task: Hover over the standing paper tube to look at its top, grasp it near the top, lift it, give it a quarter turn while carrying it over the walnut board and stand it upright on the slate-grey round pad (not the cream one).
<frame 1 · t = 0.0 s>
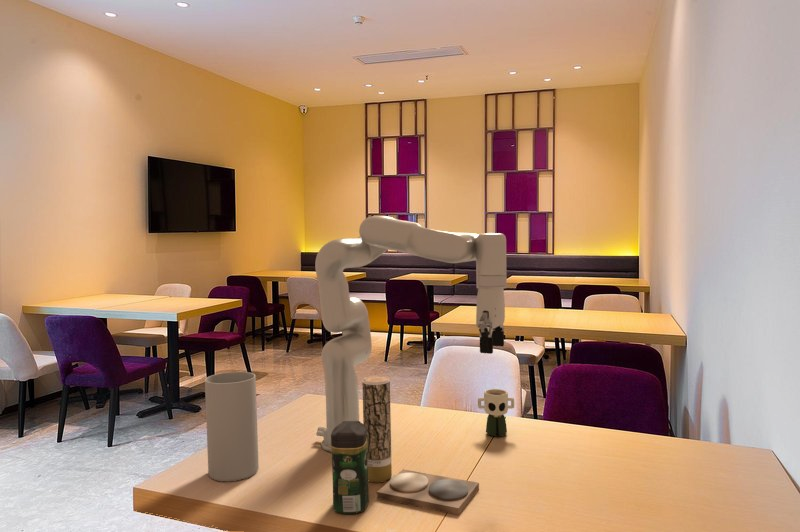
hand: (492, 349, 146), 31 cm above the table, tool pointing down, fingers open, 9 cm apart
board: (428, 493, 135), on the table
cylinder vase: (233, 473, 150), on the table
character mug: (496, 435, 174), on the table
coffee jar: (350, 506, 130), on the table
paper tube: (378, 478, 145), on the table
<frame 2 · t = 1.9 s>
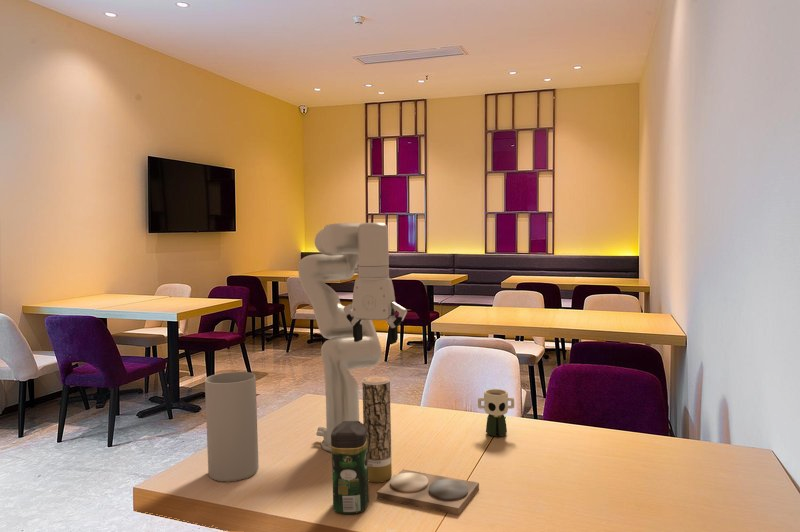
hand: (375, 342, 143), 34 cm above the table, tool pointing down, fingers open, 9 cm apart
nothing on the table moved.
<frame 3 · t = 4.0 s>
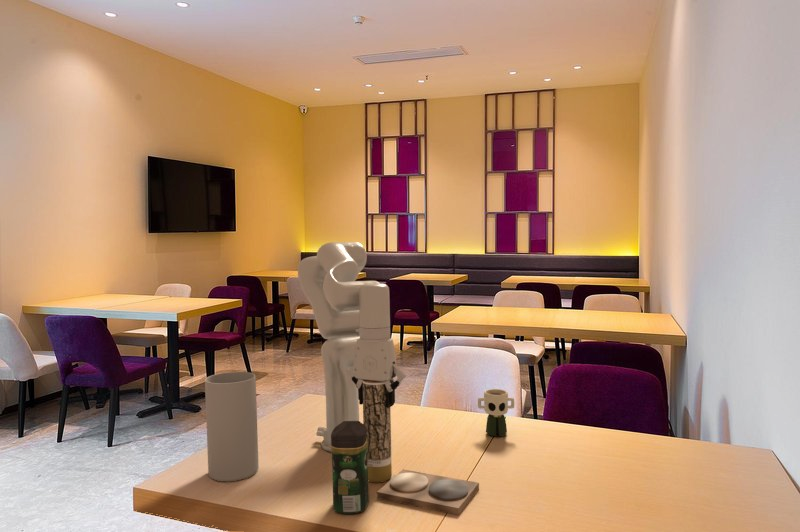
hand: (376, 404, 144), 19 cm above the table, tool pointing down, fingers closed on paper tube, 6 cm apart
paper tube: (378, 478, 145), on the table, touching gripper
everything else where it was.
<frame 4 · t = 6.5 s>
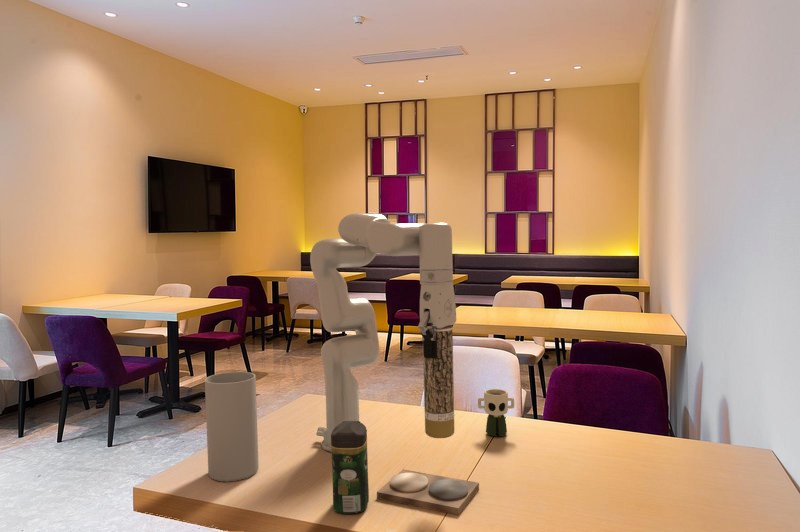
hand: (438, 354, 133), 33 cm above the table, tool pointing down, fingers closed on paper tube, 6 cm apart
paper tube: (439, 435, 133), point 14 cm above the table, touching gripper
everything else where it was.
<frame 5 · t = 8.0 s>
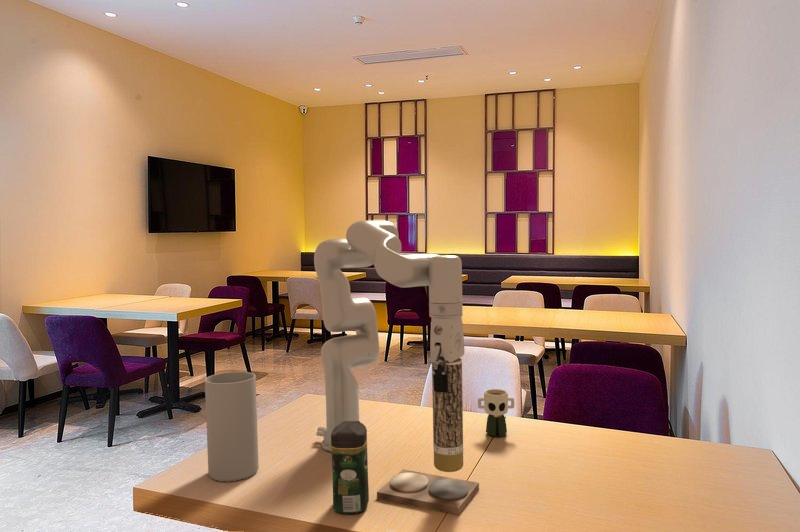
hand: (447, 387, 132), 26 cm above the table, tool pointing down, fingers closed on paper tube, 6 cm apart
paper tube: (448, 468, 133), point 7 cm above the table, touching gripper
everything else where it was.
when the fingers open (22 cm above the table, at t = 9.2 s): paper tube drops 1 cm, resting on board.
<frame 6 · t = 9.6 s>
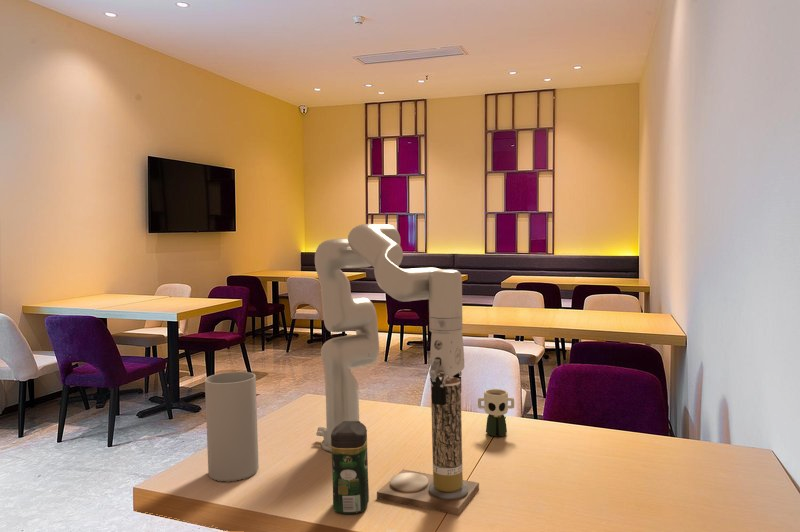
hand: (447, 398, 132), 23 cm above the table, tool pointing down, fingers open, 9 cm apart
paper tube: (448, 487, 133), point 2 cm above the table, touching board
everything else where it was.
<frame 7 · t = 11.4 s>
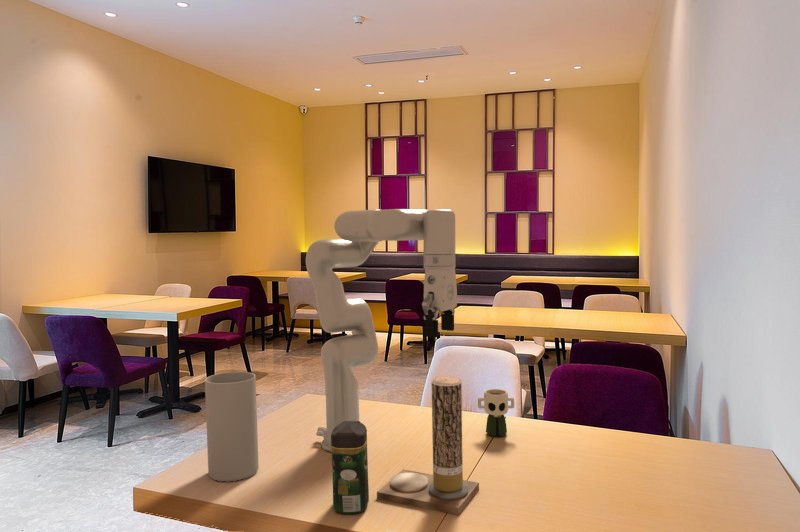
hand: (439, 333, 137), 37 cm above the table, tool pointing down, fingers open, 9 cm apart
nothing on the table moved.
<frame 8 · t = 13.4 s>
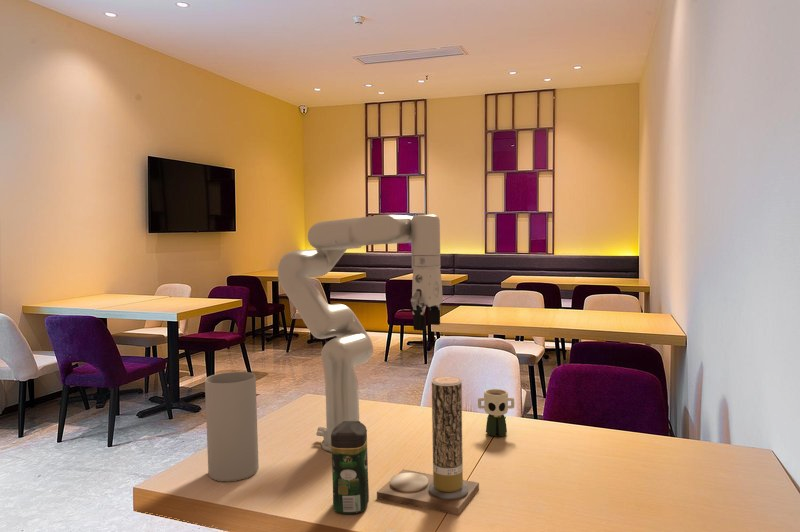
hand: (427, 327, 152), 36 cm above the table, tool pointing down, fingers open, 9 cm apart
nothing on the table moved.
at the end: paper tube 0.3 cm from the target spot on the board, point 2.1 cm above the board's base; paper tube tilted 0°; the gripper is holding nothing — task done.
